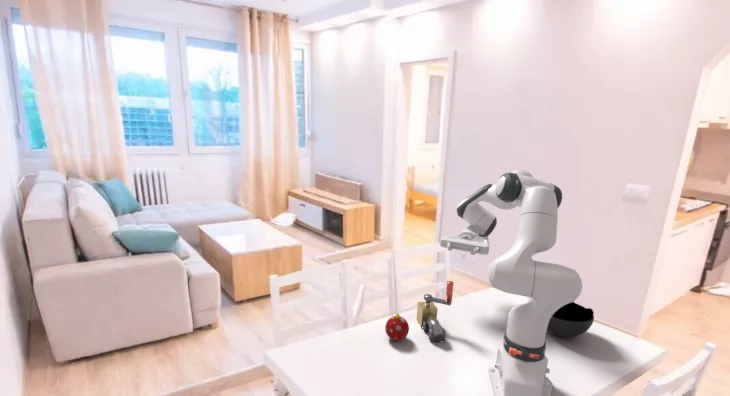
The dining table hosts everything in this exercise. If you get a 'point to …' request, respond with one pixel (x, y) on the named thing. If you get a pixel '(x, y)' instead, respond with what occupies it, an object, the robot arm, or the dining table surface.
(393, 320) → the christmas ornament
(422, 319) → the valve
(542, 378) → the robot arm
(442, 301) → the lever
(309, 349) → the dining table surface
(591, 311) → the bowl of black rocks
